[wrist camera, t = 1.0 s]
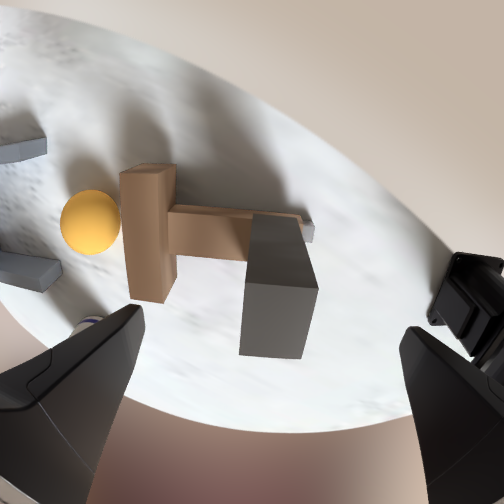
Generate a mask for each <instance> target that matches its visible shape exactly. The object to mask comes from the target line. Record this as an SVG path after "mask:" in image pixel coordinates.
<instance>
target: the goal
mask: <svg viewBox="0 0 504 504" xmlns="http://www.w3.org/2000/svg"><path fill="white" fill-rule="evenodd" d="M45 154H47V138H40V139H33V140H27V141H21V142H16V143H10V144H5V145H0V164H6V163H14V162H21V161H24V160H27V159H31V158H34V157H38V156H41V155H45ZM61 275H62V269H61V264H60V260H53V259H47V258H40V257H34V256H28V255H21V254H15V253H9V252H3V251H1V246H0V282H2V283H5V284H9V285H13V286H16V287H20V288H24V289H28V290H32V291H36V292H41V293H43V292H44V291H45V290H46V289H47V288H48V287H49V286H50V285H51V284H52V283H53V282H54V281H55V280H56V279H58V278H59V277H60V276H61Z"/></svg>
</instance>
